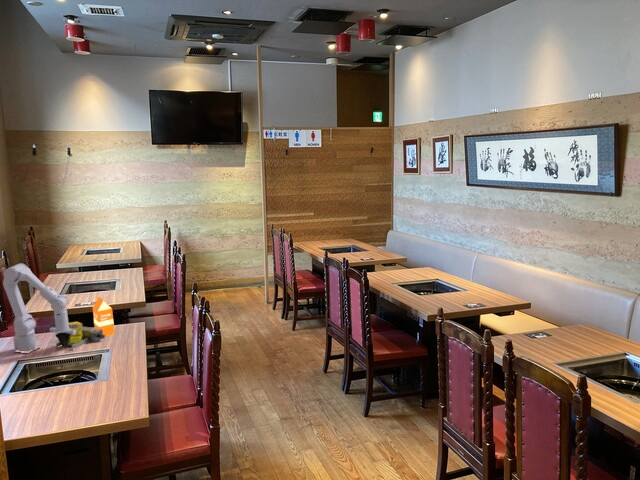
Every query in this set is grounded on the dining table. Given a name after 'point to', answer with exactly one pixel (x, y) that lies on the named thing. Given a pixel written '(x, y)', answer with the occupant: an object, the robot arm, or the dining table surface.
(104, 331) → the orange juice
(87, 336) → the grey plush toy
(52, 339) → the dining table surface
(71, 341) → the supplement box
